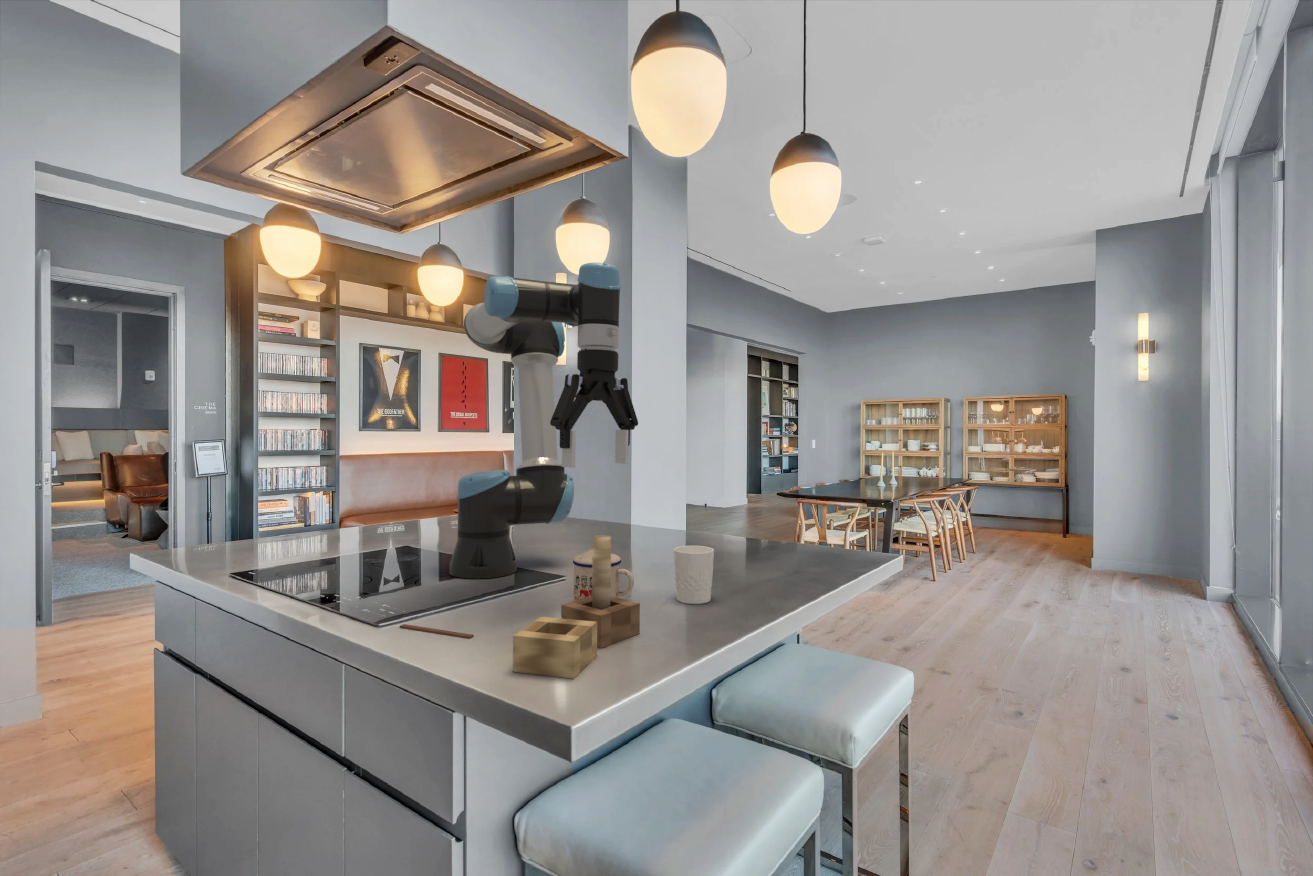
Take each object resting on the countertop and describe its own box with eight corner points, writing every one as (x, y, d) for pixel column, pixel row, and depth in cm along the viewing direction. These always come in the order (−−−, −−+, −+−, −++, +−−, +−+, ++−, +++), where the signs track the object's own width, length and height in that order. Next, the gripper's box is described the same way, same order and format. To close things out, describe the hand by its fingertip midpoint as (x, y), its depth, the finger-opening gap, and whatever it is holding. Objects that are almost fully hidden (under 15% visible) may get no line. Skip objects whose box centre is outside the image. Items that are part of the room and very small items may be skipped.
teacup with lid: (564, 609, 116) (564, 546, 116) (585, 597, 124) (586, 538, 124) (623, 616, 112) (624, 551, 112) (642, 603, 120) (642, 543, 120)
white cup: (714, 605, 119) (715, 553, 119) (673, 605, 120) (674, 552, 119) (712, 594, 127) (712, 545, 127) (673, 594, 127) (673, 545, 127)
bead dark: (561, 635, 101) (561, 604, 101) (600, 622, 108) (600, 593, 108) (600, 648, 96) (601, 615, 96) (639, 633, 103) (639, 603, 102)
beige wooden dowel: (588, 634, 102) (588, 536, 102) (601, 630, 104) (601, 534, 104) (601, 639, 100) (601, 539, 100) (614, 634, 102) (614, 536, 102)
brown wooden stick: (399, 627, 105) (399, 625, 105) (404, 625, 106) (404, 624, 106) (469, 638, 99) (469, 636, 99) (473, 636, 100) (473, 634, 100)
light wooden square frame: (512, 671, 86) (513, 635, 86) (540, 649, 95) (541, 616, 95) (573, 678, 84) (574, 641, 84) (596, 655, 93) (597, 621, 92)
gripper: (559, 342, 103) (557, 470, 104) (657, 354, 122) (655, 463, 123) (530, 344, 108) (529, 467, 109) (629, 356, 127) (627, 460, 128)
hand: (596, 465), depth 116 cm, fingers open, 13 cm apart
